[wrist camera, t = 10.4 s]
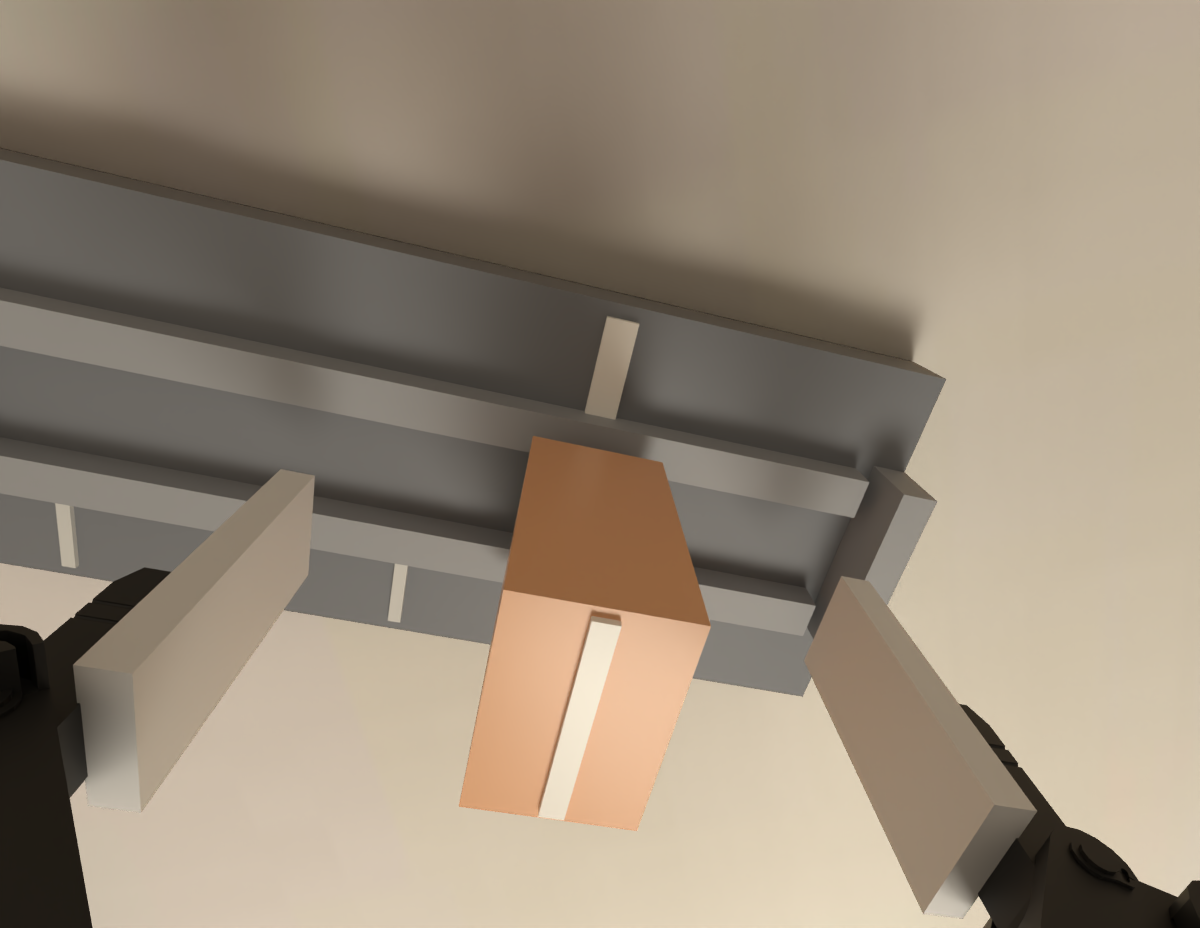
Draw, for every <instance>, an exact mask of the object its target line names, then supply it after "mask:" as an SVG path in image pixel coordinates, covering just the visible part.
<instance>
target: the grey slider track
mask: <svg viewBox="0 0 1200 928" xmlns="http://www.w3.org/2000/svg"><path fill="white" fill-rule="evenodd" d="M945 381H946V379H945V378H943V377H941V376H939V375H937V374H935V373H933V372H932V371H930V370H928V369H926V368H924V367H922V366H920V365H918V364H916V363H914V362H912V361H907V360H903V359H899V358H894V357H890V356H886V355H882V354H877V353H873V352H869V351H865V350H860V349H856V348H852V347H847V346H843V345H839V344H835V343H830V342H826V341H822V340H818V339H813V338H809V337H805V336H800V335H796V334H792V333H788V332H783V331H779V330H775V329H771V328H766V327H762V326H758V325H753V324H749V323H745V322H741V321H736V320H732V319H728V318H724V317H719V316H715V315H711V314H706V313H702V312H698V311H694V310H689V309H685V308H681V307H677V306H672V305H668V304H664V303H659V302H655V301H651V300H647V299H642V298H638V297H634V296H630V295H625V294H621V293H617V292H612V291H608V290H604V289H600V288H595V287H591V286H587V285H583V284H578V283H574V282H570V281H565V280H561V279H557V278H553V277H548V276H544V275H540V274H536V273H531V272H527V271H523V270H518V269H514V268H510V267H506V266H501V265H497V264H493V263H489V262H484V261H480V260H476V259H472V258H467V257H463V256H459V255H454V254H450V253H446V252H442V251H437V250H433V249H429V248H425V247H420V246H416V245H412V244H407V243H403V242H399V241H395V240H390V239H386V238H382V237H378V236H373V235H369V234H365V233H360V232H356V231H352V230H348V229H343V228H339V227H335V226H331V225H326V224H322V223H318V222H313V221H309V220H305V219H301V218H296V217H292V216H288V215H284V214H279V213H275V212H271V211H266V210H262V209H258V208H254V207H249V206H245V205H241V204H237V203H232V202H228V201H224V200H219V199H215V198H211V197H207V196H202V195H198V194H194V193H190V192H185V191H181V190H177V189H172V188H168V187H164V186H160V185H155V184H151V183H147V182H143V181H138V180H134V179H130V178H125V177H121V176H117V175H113V174H108V173H104V172H100V171H96V170H91V169H87V168H83V167H78V166H74V165H70V164H66V163H61V162H57V161H53V160H49V159H44V158H40V157H36V156H31V155H27V154H23V153H19V152H14V151H10V150H6V149H2V148H0V563H4V564H10V565H16V566H22V567H28V568H34V569H40V570H46V571H52V572H58V573H64V574H70V575H76V576H82V577H88V578H94V579H100V580H106V581H112V582H114V581H115V580H118V579H120V578H122V577H124V576H126V575H129V574H131V573H133V572H135V571H138V570H140V569H142V568H144V567H146V568H152V569H158V570H164V571H170V572H172V571H173V570H174V569H175V568H176V567H177V566H178V565H180V564H181V563H182V562H183V561H184V560H185V559H186V558H187V557H188V556H189V555H190V554H191V553H192V552H193V551H194V550H195V549H197V548H198V547H199V546H200V545H201V544H202V543H203V542H204V541H205V540H206V539H207V538H208V537H209V536H210V535H211V534H212V533H214V532H215V531H216V530H217V529H218V528H219V527H220V526H221V525H222V524H223V523H224V522H225V521H226V520H227V519H228V518H229V517H231V516H232V515H233V514H234V513H235V512H236V511H237V510H238V509H239V508H240V507H241V506H242V505H243V504H244V503H245V502H246V501H248V500H249V499H250V498H251V497H252V496H253V495H254V494H255V493H256V492H257V491H258V490H259V489H260V488H261V487H262V486H263V485H265V484H266V483H267V482H268V481H269V480H270V479H271V478H272V477H273V476H274V475H275V474H276V473H277V472H278V471H279V470H280V469H283V470H288V471H293V472H298V473H304V474H309V475H314V476H315V481H314V496H313V511H312V526H311V541H310V556H309V571H308V576H307V577H306V579H305V580H304V582H303V583H302V584H301V586H300V587H299V589H298V590H297V592H296V593H295V594H294V596H293V597H292V599H291V600H290V601H289V603H288V604H287V606H286V607H285V609H284V610H286V611H292V612H298V613H304V614H310V615H316V616H322V617H328V618H334V619H340V620H346V621H352V622H358V623H364V624H370V625H376V626H382V627H388V628H394V629H400V630H406V631H412V632H418V633H424V634H430V635H436V636H442V637H448V638H454V639H460V640H466V641H472V642H478V643H484V644H490V645H491V641H492V636H493V631H494V625H495V620H496V615H497V610H498V605H499V600H500V595H501V590H502V585H503V580H504V575H505V570H506V565H507V561H508V556H509V551H510V546H511V541H512V536H513V531H514V526H515V521H516V517H517V512H518V507H519V502H520V497H521V492H522V487H523V482H524V477H525V472H526V468H527V463H528V458H529V453H530V448H531V443H532V438H533V436H537V437H542V438H546V439H551V440H556V441H561V442H566V443H571V444H576V445H581V446H585V447H590V448H595V449H600V450H605V451H610V452H615V453H620V454H624V455H629V456H634V457H639V458H644V459H649V460H654V461H659V462H662V463H663V466H664V469H665V473H666V476H667V479H668V483H669V486H670V490H671V493H672V496H673V500H674V503H675V506H676V510H677V513H678V517H679V520H680V523H681V527H682V530H683V533H684V537H685V540H686V544H687V547H688V550H689V554H690V557H691V560H692V564H693V567H694V571H695V574H696V577H697V581H698V584H699V587H700V591H701V594H702V598H703V601H704V604H705V608H706V611H707V614H708V618H709V621H710V625H711V628H710V631H709V634H708V636H707V639H706V642H705V645H704V647H703V650H702V653H701V656H700V658H699V661H698V664H697V667H696V669H695V672H694V675H693V678H694V679H700V680H706V681H712V682H718V683H724V684H730V685H736V686H742V687H748V688H754V689H760V690H766V691H772V692H778V693H784V694H790V695H796V696H802V697H803V695H804V692H805V690H806V688H807V686H808V684H809V681H810V679H811V674H810V672H809V670H808V668H807V666H806V664H805V662H804V660H805V657H806V655H807V653H808V651H809V648H810V646H811V644H812V641H813V639H814V637H815V635H816V632H817V630H818V628H819V626H820V623H821V621H822V619H823V616H824V614H825V612H826V610H827V607H828V605H829V603H830V601H831V598H832V596H833V594H834V592H835V589H836V587H837V585H838V582H839V580H840V578H841V576H844V577H849V578H855V579H860V580H865V581H869V582H870V583H871V584H872V586H873V587H874V589H875V590H876V591H877V593H878V594H879V595H880V597H881V598H882V599H883V601H884V602H885V604H886V605H887V604H888V602H889V600H890V598H891V596H892V594H893V592H894V590H895V588H896V586H897V584H898V582H899V580H900V578H901V575H902V573H903V571H904V569H905V567H906V565H907V563H908V561H909V559H910V557H911V555H912V553H913V551H914V549H915V546H916V544H917V542H918V540H919V538H920V536H921V534H922V532H923V530H924V528H925V526H926V524H927V522H928V520H929V517H930V515H931V513H932V511H933V509H934V507H935V505H936V503H937V501H936V500H935V499H934V498H933V497H932V496H930V495H929V494H928V493H927V492H926V491H925V490H924V489H923V488H921V487H920V486H919V485H918V484H917V483H916V482H915V481H913V480H912V479H911V478H910V477H909V476H908V475H907V474H906V473H904V471H905V469H906V467H907V465H908V462H909V460H910V458H911V456H912V454H913V451H914V449H915V447H916V445H917V443H918V440H919V438H920V436H921V434H922V431H923V429H924V427H925V425H926V423H927V420H928V418H929V416H930V414H931V412H932V409H933V407H934V405H935V403H936V401H937V398H938V396H939V394H940V392H941V389H942V387H943V385H944V383H945Z"/></svg>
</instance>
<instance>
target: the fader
mask: <svg viewBox="0 0 1200 928" xmlns="http://www.w3.org/2000/svg"><path fill="white" fill-rule="evenodd" d="M710 628H711V625H710V621H709V618H708V614H707V611H706V608H705V604H704V601H703V598H702V594H701V591H700V587H699V584H698V581H697V577H696V574H695V571H694V567H693V564H692V560H691V557H690V554H689V550H688V547H687V544H686V540H685V537H684V533H683V530H682V527H681V523H680V520H679V517H678V513H677V510H676V506H675V503H674V500H673V496H672V493H671V490H670V486H669V483H668V479H667V476H666V473H665V469H664V466H663V463H662V462H659V461H654V460H649V459H644V458H639V457H634V456H629V455H624V454H620V453H615V452H610V451H605V450H600V449H595V448H590V447H585V446H581V445H576V444H571V443H566V442H561V441H556V440H551V439H546V438H542V437H537V436H533V438H532V443H531V448H530V453H529V458H528V463H527V468H526V472H525V477H524V482H523V487H522V492H521V497H520V502H519V507H518V512H517V517H516V521H515V526H514V531H513V536H512V541H511V546H510V551H509V556H508V561H507V565H506V570H505V575H504V580H503V585H502V590H501V595H500V600H499V605H498V610H497V615H496V620H495V625H494V631H493V636H492V641H491V646H490V651H489V656H488V661H487V666H486V671H485V676H484V681H483V686H482V692H481V697H480V702H479V707H478V712H477V717H476V722H475V727H474V732H473V737H472V742H471V747H470V753H469V758H468V763H467V768H466V773H465V778H464V783H463V788H462V793H461V798H460V803H459V807H466V808H473V809H481V810H488V811H495V812H502V813H510V814H517V815H524V816H532V817H539V818H546V819H553V820H561V821H568V822H575V823H583V824H590V825H597V826H604V827H612V828H619V829H626V830H634V831H637V830H638V827H639V824H640V821H641V818H642V816H643V813H644V810H645V807H646V805H647V802H648V799H649V796H650V794H651V791H652V788H653V785H654V783H655V780H656V777H657V774H658V772H659V769H660V766H661V763H662V760H663V758H664V755H665V752H666V749H667V747H668V744H669V741H670V738H671V736H672V733H673V730H674V727H675V725H676V722H677V719H678V716H679V714H680V711H681V708H682V705H683V703H684V700H685V697H686V694H687V691H688V689H689V686H690V683H691V680H692V678H693V675H694V672H695V669H696V667H697V664H698V661H699V658H700V656H701V653H702V650H703V647H704V645H705V642H706V639H707V636H708V634H709V631H710Z"/></svg>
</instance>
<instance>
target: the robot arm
mask: <svg viewBox="0 0 1200 928" xmlns="http://www.w3.org/2000/svg"><path fill="white" fill-rule="evenodd" d="M314 481H315V476H314V475H309V474H304V473H298V472H293V471H288V470H283V469H280V470H279V471H278V472H277V473H276V474H275V475H274V476H273V477H272V478H271V479H270V480H269V481H268V482H267V483H266V484H265V485H263V486H262V487H261V488H260V489H259V490H258V491H257V492H256V493H255V494H254V495H253V496H252V497H251V498H250V499H249V500H248V501H246V502H245V503H244V504H243V505H242V506H241V507H240V508H239V509H238V510H237V511H236V512H235V513H234V514H233V515H232V516H231V517H229V518H228V519H227V520H226V521H225V522H224V523H223V524H222V525H221V526H220V527H219V528H218V529H217V530H216V531H215V532H214V533H212V534H211V535H210V536H209V537H208V538H207V539H206V540H205V541H204V542H203V543H202V544H201V545H200V546H199V547H198V548H197V549H195V550H194V551H193V552H192V553H191V554H190V555H189V556H188V557H187V558H186V559H185V560H184V561H183V562H182V563H181V564H180V565H178V566H177V567H176V568H175V569H174V570H173V571H172V572H170V571H164V570H158V569H152V568H146V567H144V568H142V569H140V570H138V571H135V572H133V573H131V574H129V575H126V576H124V577H122V578H120V579H118V580H115V581H114V582H113V583H111V584H110V585H109V586H108V587H107V588H105V589H104V590H103V591H102V592H101V593H100V594H98V595H97V596H96V597H95V598H94V599H93V601H92V603H88V604H87V605H85V606H84V607H83V608H82V609H81V610H79V611H78V612H77V613H76V614H75V617H74V618H70V619H69V620H68V621H66V622H65V623H64V624H63V625H62V626H61V627H59V628H58V629H57V630H56V631H55V632H53V633H52V634H51V635H50V636H49V637H48V638H46V639H45V640H44V641H43V640H42V638H41V637H40V635H39V634H38V632H36V631H33V630H31V629H28V628H26V627H23V626H15V625H3V624H0V928H92V923H91V917H90V911H89V906H88V900H87V894H86V889H85V883H84V877H83V872H82V866H81V860H80V855H79V849H78V844H77V838H76V832H75V827H74V821H73V815H72V810H71V804H70V797H71V796H72V795H73V794H74V792H75V791H76V790H77V789H78V788H79V786H80V785H81V784H82V783H83V782H84V780H85V783H86V793H87V802H88V806H91V807H99V808H106V809H114V810H122V811H130V812H137V813H141V812H142V811H143V809H144V808H145V806H146V805H147V804H148V802H149V801H150V799H151V798H152V797H153V795H154V794H155V792H156V791H157V789H158V788H159V787H160V785H161V784H162V782H163V781H164V779H165V778H166V777H167V775H168V774H169V772H170V771H171V769H172V768H173V767H174V765H175V764H176V762H177V761H178V760H179V758H180V757H181V755H182V754H183V752H184V751H185V750H186V748H187V747H188V745H189V744H190V742H191V741H192V740H193V738H194V737H195V735H196V734H197V732H198V731H199V730H200V728H201V727H202V725H203V724H204V722H205V721H206V720H207V718H208V717H209V715H210V714H211V713H212V711H213V710H214V708H215V707H216V705H217V704H218V703H219V701H220V700H221V698H222V697H223V695H224V694H225V693H226V691H227V690H228V688H229V687H230V685H231V684H232V683H233V681H234V680H235V678H236V677H237V676H238V674H239V673H240V671H241V670H242V668H243V667H244V666H245V664H246V663H247V661H248V660H249V658H250V657H251V656H252V654H253V653H254V651H255V650H256V648H257V647H258V646H259V644H260V643H261V641H262V640H263V638H264V637H265V636H266V634H267V633H268V631H269V630H270V629H271V627H272V626H273V624H274V623H275V621H276V620H277V619H278V617H279V616H280V614H281V613H282V611H283V610H284V609H285V607H286V606H287V604H288V603H289V601H290V600H291V599H292V597H293V596H294V594H295V593H296V592H297V590H298V589H299V587H300V586H301V584H302V583H303V582H304V580H305V579H306V577H307V576H308V571H309V556H310V541H311V526H312V511H313V496H314ZM804 662H805V664H806V666H807V668H808V670H809V672H810V674H811V677H812V679H813V681H814V683H815V685H816V687H817V689H818V691H819V694H820V696H821V698H822V700H823V702H824V704H825V706H826V708H827V711H828V713H829V715H830V717H831V719H832V721H833V723H834V725H835V728H836V730H837V732H838V734H839V736H840V738H841V740H842V742H843V745H844V747H845V749H846V751H847V753H848V755H849V757H850V759H851V762H852V764H853V766H854V768H855V770H856V772H857V774H858V776H859V779H860V781H861V783H862V785H863V787H864V789H865V791H866V793H867V795H868V798H869V800H870V802H871V804H872V806H873V808H874V810H875V812H876V815H877V817H878V819H879V821H880V823H881V825H882V827H883V829H884V832H885V834H886V836H887V838H888V840H889V842H890V844H891V846H892V849H893V851H894V853H895V855H896V857H897V859H898V861H899V863H900V866H901V868H902V870H903V872H904V874H905V876H906V878H907V880H908V883H909V885H910V887H911V889H912V891H913V893H914V895H915V897H916V900H917V902H918V904H919V906H920V908H921V910H922V912H923V914H929V915H936V916H944V917H952V918H960V919H963V918H964V916H965V915H966V913H967V912H968V911H969V909H970V908H971V906H972V905H973V903H974V902H975V900H976V899H977V898H978V896H979V897H980V899H981V901H982V902H983V904H984V906H985V908H986V910H987V911H988V913H989V915H990V919H989V920H988V922H987V923H986V924H985V926H984V927H983V928H1200V881H1192V882H1191V883H1190V884H1189V885H1188V886H1187V887H1186V889H1185V890H1184V891H1183V892H1182V893H1181V894H1180V895H1179V897H1176V896H1173V895H1171V894H1169V893H1166V892H1164V891H1161V890H1159V889H1156V888H1154V887H1152V886H1149V885H1147V884H1144V883H1142V882H1140V881H1138V879H1137V877H1136V876H1135V875H1134V873H1133V872H1132V870H1131V869H1130V868H1129V866H1128V865H1127V864H1126V863H1125V862H1124V861H1123V860H1122V859H1121V858H1120V857H1119V856H1118V855H1117V854H1116V853H1115V852H1114V851H1113V850H1112V849H1110V848H1109V847H1107V846H1106V845H1105V844H1103V843H1102V842H1100V841H1099V840H1098V839H1096V838H1095V837H1093V836H1091V835H1089V834H1087V833H1085V832H1083V831H1081V830H1078V829H1074V828H1070V827H1066V826H1065V824H1064V823H1063V822H1062V820H1061V819H1060V818H1059V816H1058V815H1057V814H1056V813H1055V811H1054V810H1053V809H1052V807H1051V806H1050V805H1049V803H1048V802H1047V801H1046V799H1045V798H1044V797H1043V795H1042V794H1041V793H1040V791H1039V790H1038V789H1037V787H1036V786H1035V785H1034V784H1033V782H1032V781H1031V780H1030V778H1029V777H1028V776H1027V774H1026V773H1025V772H1024V770H1023V769H1022V768H1020V767H1018V762H1017V761H1016V760H1015V758H1014V757H1013V756H1012V755H1011V753H1010V752H1009V751H1008V750H1005V745H1004V744H1003V743H1002V741H1001V740H1000V739H999V737H998V736H997V735H996V733H995V732H994V731H993V729H992V728H991V727H990V726H989V725H988V724H987V723H986V722H985V721H984V720H983V719H982V718H980V717H979V716H978V715H977V714H976V713H975V712H974V711H973V710H971V709H970V708H969V707H968V706H967V705H962V704H959V703H958V702H957V701H956V699H955V698H954V697H953V695H952V694H951V692H950V691H949V690H948V688H947V687H946V686H945V684H944V683H943V682H942V680H941V679H940V677H939V676H938V675H937V673H936V672H935V671H934V669H933V668H932V666H931V665H930V664H929V662H928V661H927V660H926V658H925V657H924V656H923V654H922V653H921V651H920V650H919V649H918V647H917V646H916V645H915V643H914V642H913V641H912V639H911V638H910V636H909V635H908V634H907V632H906V631H905V630H904V628H903V627H902V625H901V624H900V623H899V621H898V620H897V619H896V617H895V616H894V615H893V613H892V612H891V610H890V609H889V608H888V606H887V605H886V604H885V602H884V601H883V599H882V598H881V597H880V595H879V594H878V593H877V591H876V590H875V589H874V587H873V586H872V584H871V583H870V582H869V581H865V580H860V579H855V578H849V577H844V576H841V578H840V580H839V582H838V585H837V587H836V589H835V592H834V594H833V596H832V598H831V601H830V603H829V605H828V607H827V610H826V612H825V614H824V616H823V619H822V621H821V623H820V626H819V628H818V630H817V632H816V635H815V637H814V639H813V641H812V644H811V646H810V648H809V651H808V653H807V655H806V657H805V660H804Z"/></svg>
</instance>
